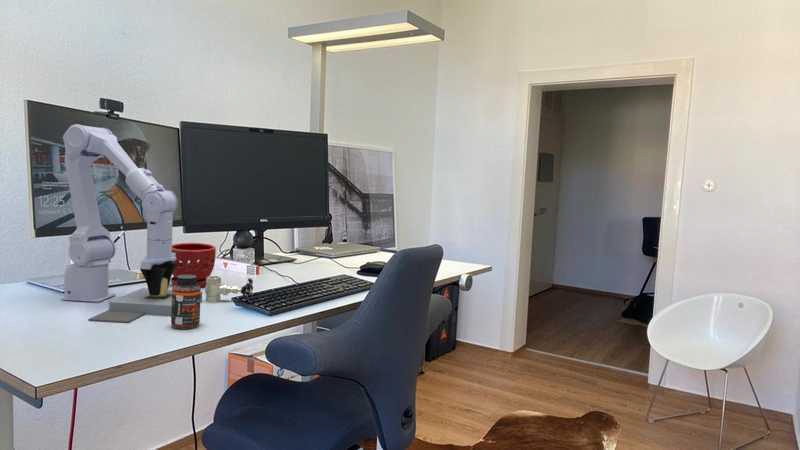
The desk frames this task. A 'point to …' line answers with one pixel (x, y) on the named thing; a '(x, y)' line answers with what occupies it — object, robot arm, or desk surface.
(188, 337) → the desk surface
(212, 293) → the valve
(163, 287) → the brass cover
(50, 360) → the desk surface
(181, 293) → the supplement bottle
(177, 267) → the plant pot
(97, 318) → the rubber mat
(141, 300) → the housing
